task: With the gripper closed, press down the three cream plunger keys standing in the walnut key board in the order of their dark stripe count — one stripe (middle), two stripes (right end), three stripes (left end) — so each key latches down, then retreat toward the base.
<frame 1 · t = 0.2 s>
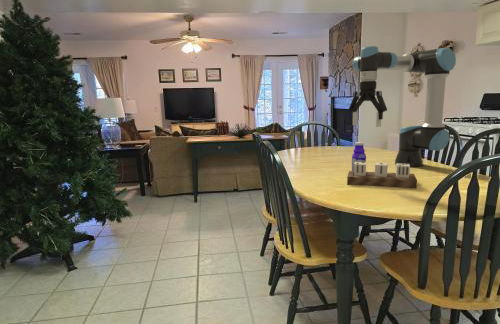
hand: (366, 125, 160), 27 cm above the table, fingers open, 13 cm apart
key three: (402, 170, 154), point 7 cm above the table, slide at 0.0 cm
key one: (380, 169, 157), point 7 cm above the table, slide at 0.0 cm
keyboard base: (380, 183, 159), on the table
key two: (360, 168, 161), point 7 cm above the table, slide at 0.0 cm
bottle: (358, 174, 177), on the table
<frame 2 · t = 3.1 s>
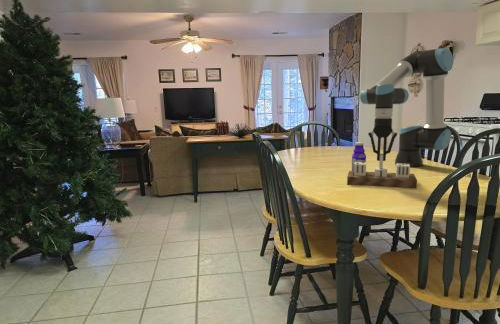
hand: (380, 167, 157), 8 cm above the table, fingers closed
key one: (380, 174, 158), point 4 cm above the table, slide at -2.2 cm, touching gripper
everything else where it was.
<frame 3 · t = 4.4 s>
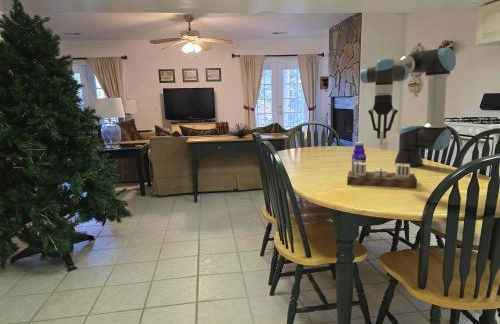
hand: (381, 145, 155), 18 cm above the table, fingers closed
key one: (380, 175, 158), point 4 cm above the table, slide at -2.8 cm
everything else where it was.
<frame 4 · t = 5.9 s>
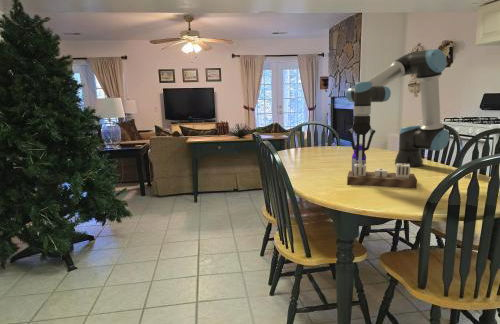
hand: (359, 164, 160), 9 cm above the table, fingers closed
key two: (360, 170, 161), point 6 cm above the table, slide at -1.0 cm, touching gripper
everything else where it was.
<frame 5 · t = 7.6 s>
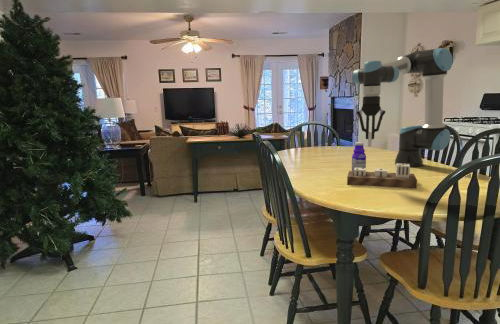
hand: (369, 146, 157), 18 cm above the table, fingers closed
key two: (359, 174, 161), point 4 cm above the table, slide at -2.8 cm
everything else where it was.
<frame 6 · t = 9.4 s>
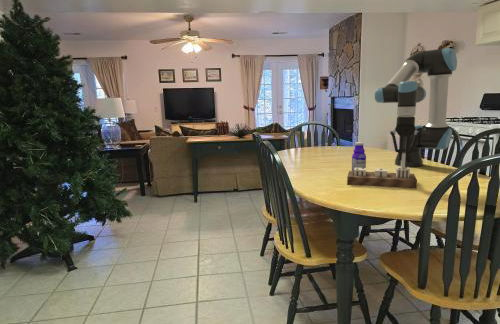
hand: (402, 167, 154), 8 cm above the table, fingers closed
key three: (402, 174, 154), point 5 cm above the table, slide at -1.6 cm, touching gripper
everything else where it was.
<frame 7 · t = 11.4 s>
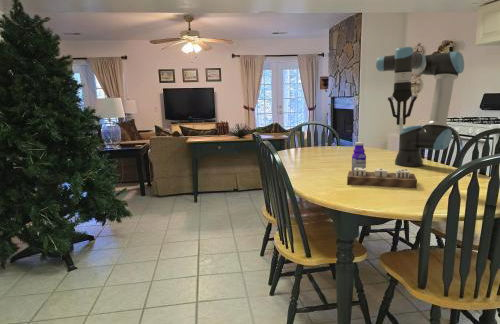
hand: (400, 131, 160), 24 cm above the table, fingers closed
key three: (402, 176, 155), point 4 cm above the table, slide at -2.8 cm
everything else where it was.
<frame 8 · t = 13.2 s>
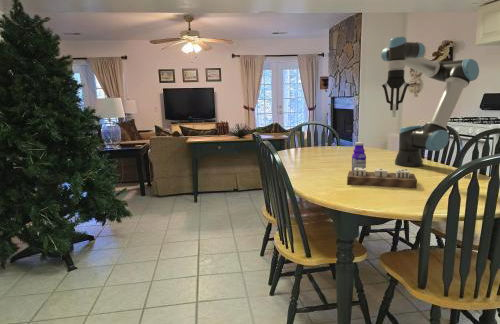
hand: (393, 116, 170), 30 cm above the table, fingers closed
nothing on the table moved.
at the end: key one slide at -2.8 cm; key two slide at -2.8 cm; key three slide at -2.8 cm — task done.
